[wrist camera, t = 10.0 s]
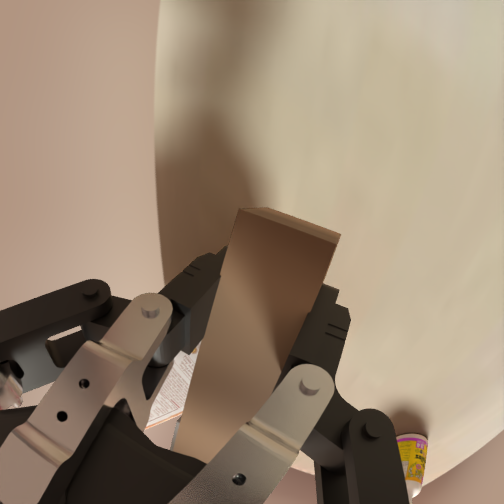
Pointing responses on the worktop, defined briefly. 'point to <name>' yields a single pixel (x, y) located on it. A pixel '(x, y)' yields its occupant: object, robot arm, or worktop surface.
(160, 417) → the cracker box
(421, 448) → the supplement bottle
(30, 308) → the robot arm
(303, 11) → the worktop surface
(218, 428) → the tan flat bar
